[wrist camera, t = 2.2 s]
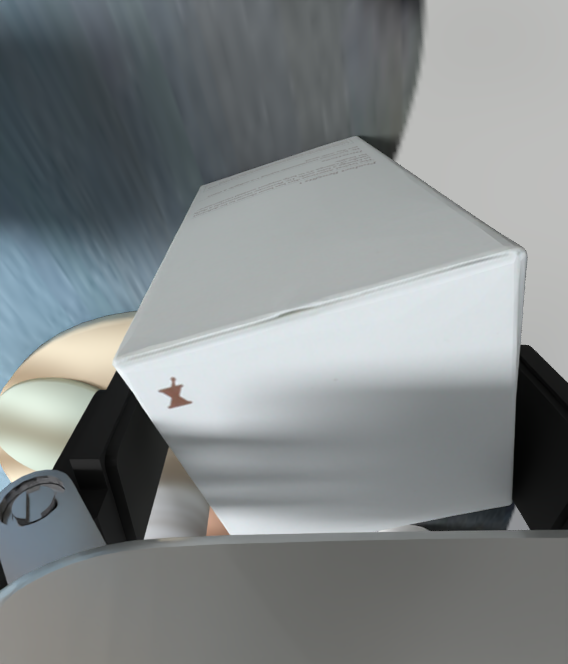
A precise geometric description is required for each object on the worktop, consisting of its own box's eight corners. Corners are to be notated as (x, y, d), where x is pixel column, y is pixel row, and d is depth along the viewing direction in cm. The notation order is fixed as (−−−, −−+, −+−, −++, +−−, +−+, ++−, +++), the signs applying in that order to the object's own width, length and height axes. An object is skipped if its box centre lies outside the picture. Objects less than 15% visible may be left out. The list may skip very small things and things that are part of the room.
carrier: (-61, 307, 20) (-222, 427, 13) (371, 312, 21) (419, 423, 15) (59, 545, 32) (5, 669, 26) (330, 539, 33) (346, 656, 27)
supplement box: (250, 321, 21) (237, 568, 11) (196, 182, 17) (91, 360, 7) (388, 284, 20) (518, 514, 10) (364, 129, 16) (540, 240, 6)
